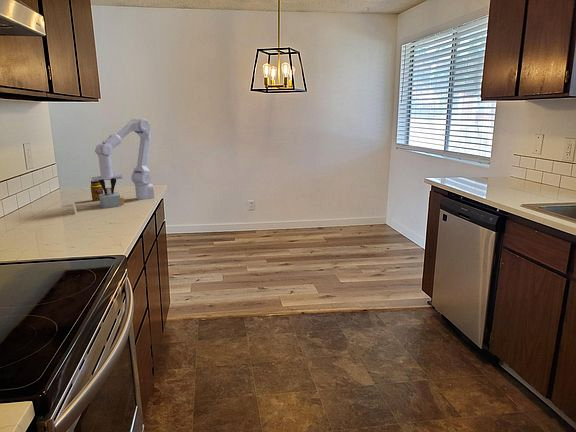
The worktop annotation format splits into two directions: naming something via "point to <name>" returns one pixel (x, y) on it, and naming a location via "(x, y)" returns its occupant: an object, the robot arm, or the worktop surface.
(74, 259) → the worktop surface
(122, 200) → the block
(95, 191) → the condiment
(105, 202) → the cover
